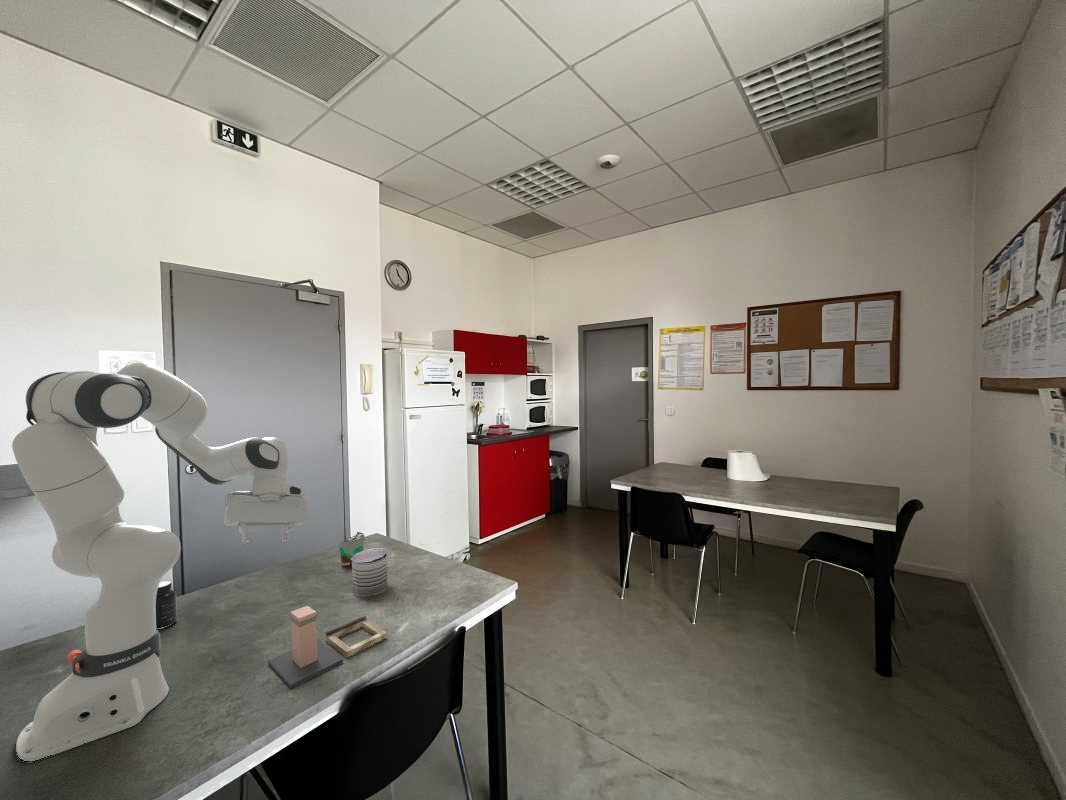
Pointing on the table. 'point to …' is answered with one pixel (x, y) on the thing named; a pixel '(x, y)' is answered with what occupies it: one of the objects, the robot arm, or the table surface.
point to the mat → (299, 675)
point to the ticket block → (304, 636)
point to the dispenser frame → (348, 627)
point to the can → (369, 572)
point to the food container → (351, 548)
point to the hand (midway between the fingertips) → (266, 540)
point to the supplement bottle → (165, 605)
